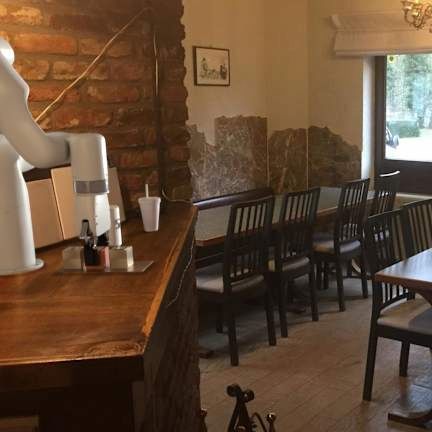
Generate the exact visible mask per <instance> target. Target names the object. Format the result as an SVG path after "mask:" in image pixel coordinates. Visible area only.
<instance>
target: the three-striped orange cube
mask: <svg viewBox="0 0 432 432" xmlns="http://www.w3.org/2000/svg"><path fill="white" fill-rule="evenodd" d="M96 249H98V253H99V265H98V266H86V269H104V268H105V267H106V266H108V265H109V264H110V263H109V261H110V257H109V250H108V246H98V247H96Z"/></svg>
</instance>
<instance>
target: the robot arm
mask: <svg viewBox="0 0 432 432" xmlns="http://www.w3.org/2000/svg"><path fill="white" fill-rule="evenodd" d="M14 62H15V52H14V49H13V47H12V45H11V44H10V43H9V42H8V41H7V40H6V39H4V38H3V37H1V36H0V276H8V275H18V274H25V273H28V272H32V271H36V270H38V269H40V268H42V267H43V266H44V260H42V259H41V258H38V257H37V258H36V251H35V240H34V231H33V221H32V212H31V205H30V204H31V203H30V196H29V190H28V186H27V183H26V181H25V178H24V176H23V173H25V172H28V171H30V170H32V169H35V168H37V169H49V168H54V167H56V166H61V165H65V164H70V166H71V167H70V168H71V176H72V177H71V179H72V189H73V195H74V203H73V204H74V205H73V206H74V210H73V212H74V213H73V216H74V235H75V237H76V238H78V240H79V242H80V244H81V247H82V249H83V254H84V265H85V266H98V265H99V253H98V249H96V247H98V246H108V250H109V251H110V250H111V249H110V246H109V242H107V241H109V235H108V233H109V229H110V225H111V222H110V210H109V205H110V203H109V197H108V194H109V193H110V183H109V172H108V171H109V169H108V160H107V159H108V157H107V146H106V139H105V137H104V135H103V134H101V133H96V132H84V133H83V132H81V133H70V132H65V131H52V132H45V131H44V130H43V128H41V126H40V125H39V124H38V123H37V122H36V121H37V120H35V119H34V117H33V116H32V114H31V112H30V108H29V106H28V97H29V94H30V92H31V91H30V87H29V85H28V83H27V82H26V81H25V80H24V79H23V77H22V76H21V75H20V74H19V73H18V72H17V70H16V69H15V67H13V64H14ZM91 240H92V241H91ZM97 241H98V242H97ZM109 258H110V254H109Z"/></svg>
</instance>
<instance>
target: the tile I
mask: <svg viewBox="0 0 432 432" xmlns="http://www.w3.org/2000/svg"><path fill="white" fill-rule="evenodd" d="M61 252H62V253H61V255H62V265H63V267H64V269H82V268H83V267H85V265H84V254H83V249H82V246H68V247H66V248H65V249H62V251H61Z"/></svg>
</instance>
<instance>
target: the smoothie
mask: <svg viewBox="0 0 432 432" xmlns="http://www.w3.org/2000/svg"><path fill="white" fill-rule="evenodd" d="M161 200H162V199H161V197H159V196H149V187H148V184H147V183H145V196H144V197H139V198H137V202H138V204H139V209H140V213H141V218H142V224H143V229H144V232H156V231H158V230H159V219H160V217H159V216H160V203H161V202H162V201H161Z"/></svg>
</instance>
